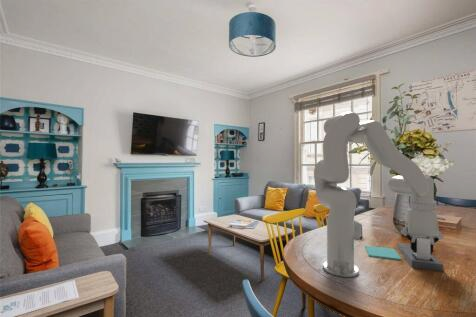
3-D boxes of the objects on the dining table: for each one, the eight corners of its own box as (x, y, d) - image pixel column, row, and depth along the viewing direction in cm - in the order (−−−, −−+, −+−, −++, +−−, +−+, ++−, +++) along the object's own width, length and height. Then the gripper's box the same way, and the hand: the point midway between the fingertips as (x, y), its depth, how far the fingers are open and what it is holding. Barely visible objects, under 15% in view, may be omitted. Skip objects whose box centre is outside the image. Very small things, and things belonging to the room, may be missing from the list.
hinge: (328, 232, 138) (330, 215, 140) (331, 233, 141) (333, 216, 144) (360, 239, 126) (361, 220, 129) (362, 240, 130) (364, 221, 132)
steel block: (430, 264, 94) (430, 239, 94) (416, 263, 95) (416, 237, 95) (426, 260, 98) (426, 235, 98) (413, 258, 99) (413, 234, 99)
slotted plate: (443, 271, 90) (443, 264, 90) (411, 267, 94) (411, 260, 94) (422, 250, 111) (422, 245, 111) (397, 247, 114) (397, 242, 114)
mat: (401, 260, 100) (401, 258, 100) (368, 256, 104) (368, 254, 104) (394, 250, 111) (394, 248, 111) (365, 246, 116) (365, 245, 116)
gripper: (443, 207, 97) (443, 252, 97) (394, 204, 103) (394, 246, 103) (452, 210, 90) (452, 259, 90) (399, 207, 96) (399, 252, 96)
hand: (421, 252), depth 97 cm, fingers closed on steel block, 4 cm apart
